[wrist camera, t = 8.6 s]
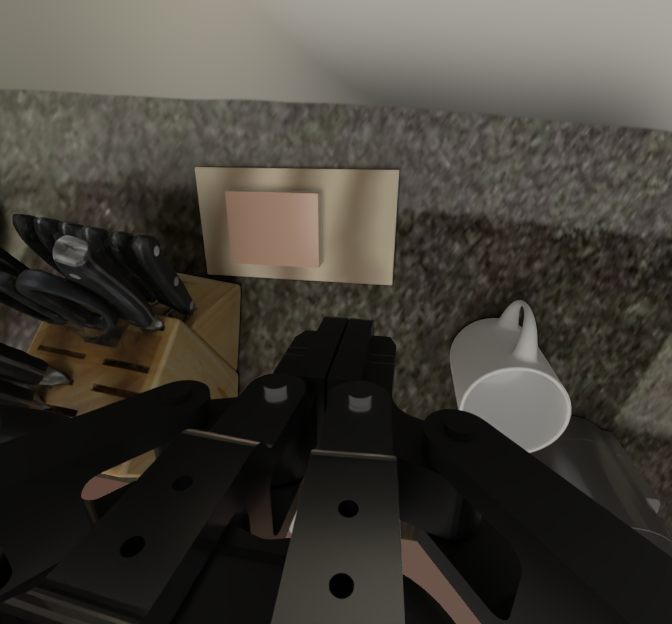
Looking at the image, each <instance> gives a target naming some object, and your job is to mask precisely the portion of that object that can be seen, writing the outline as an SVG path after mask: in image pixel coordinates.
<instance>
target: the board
mask: <svg viewBox="0 0 672 624" xmlns="http://www.w3.org/2000/svg"><path fill="white" fill-rule="evenodd" d="M195 175H196V183H197V191H198V199H199V207H200V215H201V223H202V232H203V240H204V248H205V256H206V264H207V272H208V274H210V275H227V276H244V277H261V278H278V279H295V280H312V281H329V282H346V283H362V284H379V285H392V280H393V264H394V248H395V232H396V216H397V200H398V184H399V170H383V169H311V168H238V167H195ZM233 189H241V190H284V191H322V213H323V263H322V264H321V266H320V267H319V268H312V267H293V266H275V265H256V264H238V263H232V260H231V249H230V239H229V229H228V219H227V208H226V198H225V191H228V190H233Z"/></svg>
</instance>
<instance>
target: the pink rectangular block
mask: <svg viewBox="0 0 672 624" xmlns="http://www.w3.org/2000/svg"><path fill="white" fill-rule="evenodd" d="M225 198H226V208H227V219H228V229H229V239H230V249H231V260H232V263H238V264H256V265H275V266H293V267H312V268H319V267H320V266H321V264H322V263H323V213H322V191H284V190H241V189H233V190H228V191H225Z"/></svg>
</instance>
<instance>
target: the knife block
mask: <svg viewBox="0 0 672 624" xmlns="http://www.w3.org/2000/svg"><path fill="white" fill-rule="evenodd" d="M12 217H13V225H14V227H15V229H16V231H17V232H18V234H19V236H20V237H21V238H22V240H23V241H24V242H25V243H26V244H27V245H28V246H29V247H30V248H31V249H32V250H33V251H34V252H35V253H37V254H38V255H39V256H40V257H41V258H42V259H43V260H44V261H45V262H47V263H48V264H49V265H50V266H52V267H53V268H54V269H56V270H57V271H58V272H59V273H61V274H62V275H63V276H64V277H66V278H62V277H59V276H56V275H53V274H51V273H48V272H44V271H41V270H34V269H29V268H28V267H26V266H25V265H24V264H22V263H21V262H20V261H18V260H17V259H16V258H14V257H13V256H11V255H10V254H9V253H8V252H7V251H5V250H3V249H2V248H0V303H2V304H4V305H6V306H8V307H10V308H12V309H14V310H17V311H19V312H21V313H24V314H26V315H29V316H31V317H33V318H35V319H38V320H41V321H42V323H41V325H40V327H39V329H38V331H37V333H36V335H35V337H34V339H33V341H32V343H31V345H30V347H29V349H28V351H27V353H26V352H24V351H21V350H19V349H15V348H13V347H10V346H7V345H5V344H3V343H0V444H1V443H3V442H6V441H9V440H12V439H15V438H17V437H20V436H23V435H26V434H28V433H31V432H34V431H37V430H40V429H42V428H45V427H48V426H51V425H53V424H56V423H59V422H62V421H65V420H67V419H70V418H73V417H76V416H78V415H81V414H84V413H87V412H90V411H92V410H95V409H98V408H101V407H103V406H106V405H109V404H112V403H115V402H117V401H120V400H123V399H126V398H128V397H131V396H134V395H137V394H140V393H142V392H145V391H148V390H151V389H153V388H156V387H159V386H162V385H164V384H167V383H171V382H175V381H181V380H195V381H199V382H202V383H204V384H206V385H207V386H208V387H209V389H210V395H211V399H220V398H231V397H238V374H237V373H236V370H237V363H238V345H239V324H240V299H241V287H240V285H238V284H233V283H228V282H223V281H217V280H212V279H207V278H202V277H197V276H192V275H186V274H181V273H176V272H175V270H174V269H173V268H172V266H171V265H170V264H169V262H168V261H167V259H166V258H165V256H164V254H163V253H162V251H161V249H160V244H159V241H158V239H157V238H155V237H153V236H149V235H139V236H135V237H134V236H133V235H131V234H129V233H127V232H123V231H120V232H111V233H109V232H108V231H106V230H105V229H102V228H98V227H91V226H87V227H84V226H83V225H81V224H77V223H72V222H60V221H59V220H56V219H53V218H44V217H42V218H37V217H35V216H31V215H26V214H14V215H13V216H12ZM155 460H156V458H155V454H154V449H153V450H151V451H149V452H146V453H144V454H142V455H140V456H138V457H135V458H133V459H131V460H129V461H127V462H124V463H122V464H120V465H118V466H116V467H113V468H111V469H109V470H107V471H104V472H102V473H104V474H108V475H113V476H117V477H140V476H141V475H142V474H143V473H144V472H145V470H146V469H147V468H148V467H149V466H150V465H151V464H152V463H153V462H154V461H155Z"/></svg>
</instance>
